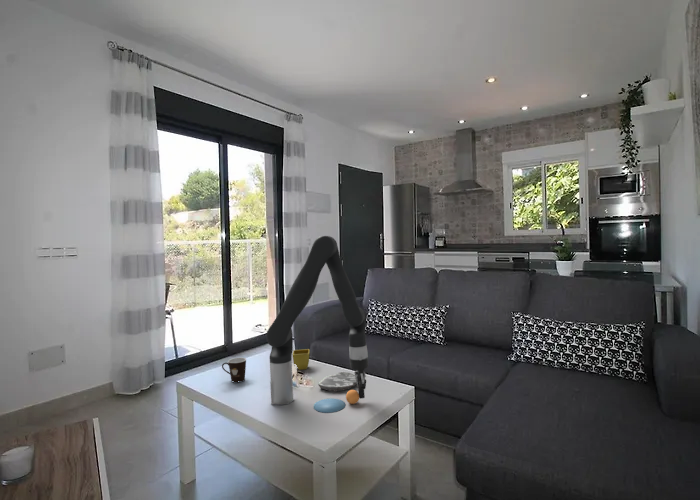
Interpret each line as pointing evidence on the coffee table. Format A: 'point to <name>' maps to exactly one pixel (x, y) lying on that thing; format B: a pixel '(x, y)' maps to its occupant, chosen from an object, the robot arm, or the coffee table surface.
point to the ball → (352, 396)
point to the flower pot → (301, 358)
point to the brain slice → (338, 382)
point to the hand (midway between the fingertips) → (361, 397)
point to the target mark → (329, 405)
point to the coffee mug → (236, 369)
